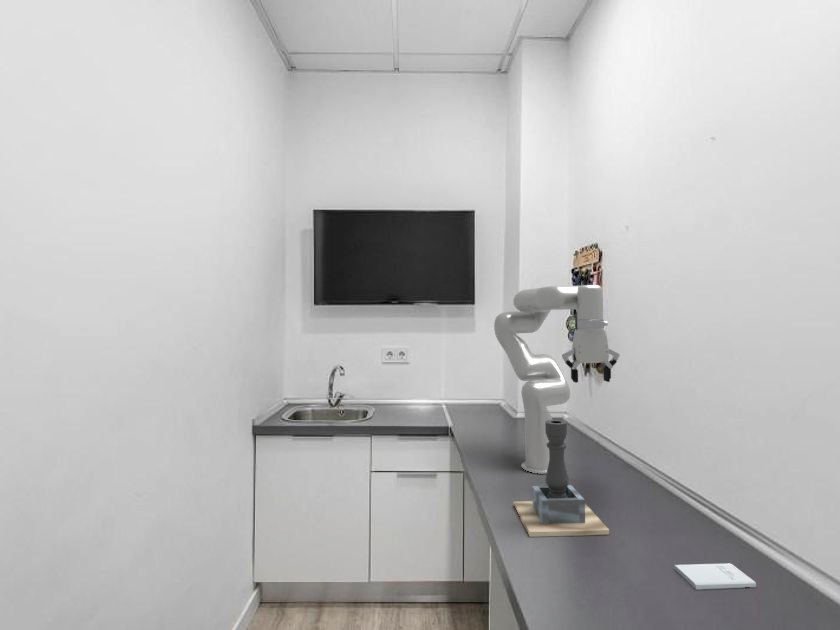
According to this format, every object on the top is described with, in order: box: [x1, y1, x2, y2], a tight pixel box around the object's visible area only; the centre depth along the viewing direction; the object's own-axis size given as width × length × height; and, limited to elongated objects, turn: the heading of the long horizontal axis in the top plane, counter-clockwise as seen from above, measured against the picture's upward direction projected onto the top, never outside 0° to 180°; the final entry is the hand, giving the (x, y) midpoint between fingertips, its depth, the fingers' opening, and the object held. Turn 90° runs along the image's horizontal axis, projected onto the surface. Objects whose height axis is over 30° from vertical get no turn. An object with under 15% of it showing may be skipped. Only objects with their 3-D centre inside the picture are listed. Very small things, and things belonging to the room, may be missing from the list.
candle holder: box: [544, 419, 570, 499], centre depth 136 cm, size 6×6×25 cm
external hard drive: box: [673, 562, 757, 591], centre depth 105 cm, size 2×8×12 cm
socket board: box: [512, 484, 610, 538], centre depth 135 cm, size 20×20×7 cm
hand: (590, 381), depth 153 cm, fingers open, 9 cm apart
